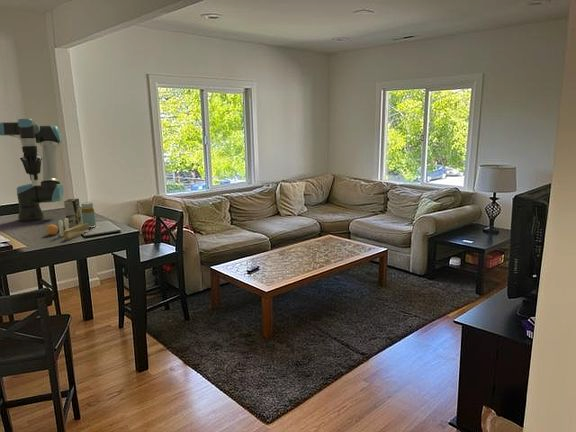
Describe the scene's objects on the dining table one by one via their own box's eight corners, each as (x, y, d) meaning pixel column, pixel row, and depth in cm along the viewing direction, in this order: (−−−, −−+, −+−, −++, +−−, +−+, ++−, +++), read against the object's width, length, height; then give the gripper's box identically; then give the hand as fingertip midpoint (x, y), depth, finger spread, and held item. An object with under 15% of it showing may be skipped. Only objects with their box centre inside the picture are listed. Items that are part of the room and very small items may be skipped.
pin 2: (65, 234, 250) (63, 219, 248) (67, 233, 252) (65, 218, 250) (68, 234, 250) (66, 219, 248) (70, 233, 252) (68, 218, 250)
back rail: (64, 239, 239) (63, 230, 238) (84, 231, 256) (83, 222, 255) (69, 239, 239) (68, 231, 237) (89, 231, 256) (88, 223, 255)
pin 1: (59, 236, 246) (57, 221, 243) (61, 235, 247) (59, 220, 245) (62, 236, 245) (60, 221, 243) (65, 235, 247) (62, 220, 245)
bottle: (91, 228, 261) (88, 204, 258) (81, 228, 263) (78, 204, 259) (98, 225, 268) (95, 202, 265) (88, 225, 269) (85, 201, 266)
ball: (52, 224, 246) (52, 235, 246) (60, 224, 252) (60, 234, 252) (43, 224, 247) (43, 235, 247) (51, 224, 253) (51, 234, 253)
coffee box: (78, 226, 267) (74, 200, 264) (66, 227, 266) (63, 201, 263) (82, 223, 276) (79, 198, 273) (71, 223, 275) (68, 198, 272)
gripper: (14, 146, 251) (20, 186, 257) (34, 145, 249) (40, 186, 255) (24, 145, 259) (30, 184, 264) (43, 145, 257) (49, 184, 262)
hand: (35, 185), depth 259 cm, fingers closed
